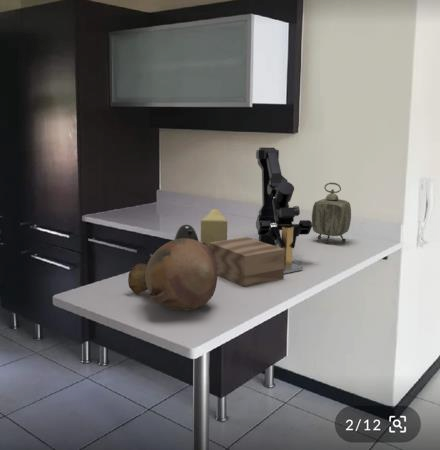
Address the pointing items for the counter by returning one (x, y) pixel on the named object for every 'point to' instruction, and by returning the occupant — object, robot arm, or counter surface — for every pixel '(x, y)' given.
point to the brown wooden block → (248, 261)
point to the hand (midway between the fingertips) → (287, 248)
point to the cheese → (213, 227)
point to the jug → (177, 275)
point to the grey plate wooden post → (288, 250)
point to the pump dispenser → (186, 232)
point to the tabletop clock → (331, 215)
